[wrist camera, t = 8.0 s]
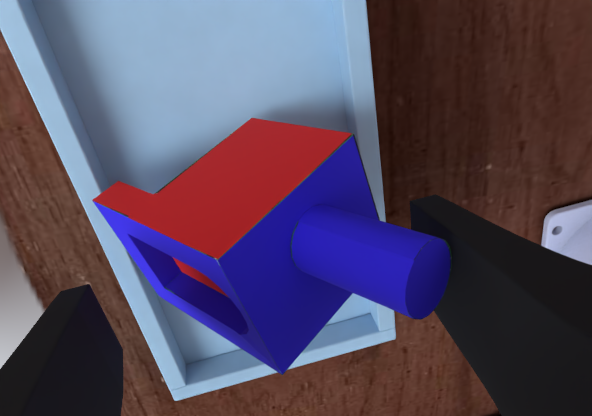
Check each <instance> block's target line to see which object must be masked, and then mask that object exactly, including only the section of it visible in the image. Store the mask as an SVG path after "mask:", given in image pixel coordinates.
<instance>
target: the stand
mask: <svg viewBox="0 0 592 416" xmlns="http://www.w3.org/2000/svg"><path fill="white" fill-rule="evenodd" d="M0 30H1V32H2V34H3V36H4V38H5V40H6V43H7V45H8V47H9V49H10V51H11V53H12V55H13V57H14V60H15V62H16V64H17V66H18V68H19V70H20V72H21V74H22V77H23V79H24V81H25V83H26V85H27V87H28V89H29V92H30V94H31V96H32V98H33V100H34V102H35V104H36V106H37V109H38V111H39V113H40V115H41V117H42V119H43V121H44V124H45V126H46V128H47V130H48V132H49V134H50V136H51V138H52V141H53V143H54V145H55V147H56V149H57V151H58V153H59V156H60V158H61V160H62V162H63V164H64V166H65V168H66V170H67V173H68V175H69V177H70V179H71V181H72V183H73V185H74V188H75V190H76V192H77V194H78V196H79V198H80V200H81V202H82V205H83V207H84V209H85V211H86V213H87V215H88V217H89V220H90V222H91V224H92V226H93V228H94V230H95V232H96V234H97V237H98V239H99V241H100V243H101V245H102V247H103V249H104V252H105V254H106V256H107V258H108V260H109V262H110V264H111V266H112V269H113V271H114V273H115V275H116V277H117V279H118V281H119V284H120V286H121V288H122V290H123V292H124V294H125V296H126V298H127V301H128V303H129V305H130V307H131V309H132V311H133V313H134V316H135V318H136V320H137V322H138V324H139V326H140V328H141V330H142V333H143V335H144V337H145V339H146V341H147V343H148V345H149V348H150V350H151V352H152V354H153V356H154V358H155V360H156V362H157V365H158V367H159V369H160V371H161V373H162V375H163V377H164V379H165V382H166V384H167V386H168V388H169V390H170V392H171V394H172V396H173V398H174V400H175V401H178V400H181V399H185V398H188V397H192V396H195V395H199V394H202V393H206V392H210V391H213V390H217V389H220V388H224V387H227V386H231V385H234V384H238V383H241V382H245V381H248V380H252V379H256V378H259V377H263V376H266V375H270V374H273V373H277V371H275V370H274V369H272V368H271V367H269V366H267V365H266V364H264V363H263V362H261V361H260V360H258V359H256V358H255V357H253V356H252V355H250V354H249V353H247V352H245V351H244V350H242V349H241V348H239V347H238V346H236V345H235V344H233V343H231V342H230V341H228V340H227V339H225V338H224V337H222V336H220V335H219V334H217V333H216V332H214V331H213V330H211V329H209V328H208V327H206V326H205V325H203V324H202V323H200V322H199V321H197V320H195V319H194V318H192V317H191V316H189V315H188V314H186V313H184V312H183V311H181V310H180V309H178V308H177V307H175V306H173V305H172V304H170V303H169V302H167V301H166V300H164V299H163V298H161V297H159V296H158V294H157V293H156V291H155V290H154V289H153V287H152V286H151V284H150V283H149V281H148V280H147V279H146V277H145V276H144V274H143V273H142V271H141V270H140V269H139V267H138V266H137V264H136V263H135V261H134V260H133V259H132V257H131V256H130V254H129V253H128V251H127V250H126V248H125V247H124V246H123V244H122V243H121V241H120V240H119V238H118V237H117V236H116V234H115V233H114V231H113V230H112V228H111V227H110V226H109V224H108V223H107V221H106V220H105V218H104V217H103V215H102V214H101V213H100V211H99V210H98V208H97V207H96V205H95V204H94V203H93V201H92V200H93V199H94V198H96V197H97V196H98V195H100V194H101V193H102V192H104V191H105V190H107V189H108V188H109V187H111V186H112V185H113V184H115V183H116V182H117V181H120V182H123V183H125V184H128V185H130V186H133V187H136V188H138V189H141V190H143V191H146V192H148V193H151V194H155V193H156V192H157V191H158V190H160V189H161V188H162V187H164V186H165V185H166V184H167V183H169V182H170V181H171V180H173V179H174V178H175V177H176V176H178V175H179V174H180V173H182V172H183V171H184V170H185V169H187V168H188V167H189V166H191V165H192V164H193V163H194V162H196V161H197V160H198V159H199V158H201V157H202V156H203V155H205V154H206V153H207V152H208V151H210V150H211V149H212V148H214V147H215V146H216V145H217V144H219V143H220V142H221V141H223V140H224V139H225V138H226V137H228V136H229V135H230V134H232V133H233V132H234V131H235V130H237V129H238V128H239V127H241V126H242V125H243V124H244V123H246V122H247V121H248V120H250V119H251V118H256V119H263V120H269V121H276V122H282V123H289V124H295V125H301V126H308V127H314V128H321V129H327V130H334V131H340V132H347V133H353V134H354V135H355V138H356V142H357V145H358V148H359V152H360V155H361V158H362V162H363V165H364V168H365V172H366V175H367V178H368V182H369V185H370V189H371V192H372V195H373V199H374V202H375V205H376V209H377V212H378V215H379V219H380V221H383V222H386V218H385V206H384V195H383V184H382V173H381V162H380V151H379V139H378V128H377V117H376V106H375V95H374V84H373V73H372V61H371V50H370V39H369V28H368V17H367V6H366V0H0ZM394 339H396V331H395V318H394V310H392V309H389V308H387V307H385V306H382V305H380V304H378V303H375V302H373V301H371V300H368V299H366V298H364V297H361V296H359V295H356V294H354V293H353V294H352V295H351V296H350V297H349V298H348V299H347V301H346V302H345V303H344V304H343V305H342V306H341V308H340V309H339V310H338V311H337V312H336V313H335V315H334V316H333V317H332V318H331V319H330V320H329V322H328V323H327V324H326V325H325V326H324V327H323V329H322V330H321V331H320V332H319V333H318V334H317V335H316V337H315V338H314V339H313V340H312V341H311V342H310V344H309V345H308V346H307V347H306V348H305V349H304V351H303V352H302V353H301V354H300V355H299V356H298V358H297V359H296V360H295V361H294V362H293V363H292V365H291V366H290V367H289V368H288V369H291V368H294V367H298V366H302V365H305V364H309V363H312V362H316V361H319V360H323V359H326V358H330V357H333V356H337V355H341V354H344V353H348V352H351V351H355V350H358V349H362V348H365V347H369V346H372V345H376V344H379V343H383V342H387V341H390V340H394Z"/></svg>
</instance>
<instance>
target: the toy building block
mask: <svg viewBox="0 0 592 416" xmlns="http://www.w3.org/2000/svg"><path fill="white" fill-rule="evenodd" d="M92 201H93V203H94V204H95V205H96V207H97V208H98V210H99V211H100V213H101V214H102V215H103V217H104V218H105V220H106V221H107V223H108V224H109V226H110V227H111V228H112V230H113V231H114V233H115V234H116V236H117V237H118V238H119V240H120V241H121V243H122V244H123V246H124V247H125V248H126V250H127V251H128V253H129V254H130V256H131V257H132V259H133V260H134V261H135V263H136V264H137V266H138V267H139V269H140V270H141V271H142V273H143V274H144V276H145V277H146V279H147V280H148V281H149V283H150V284H151V286H152V287H153V289H154V290H155V291H156V293H157V294H158V296H159V297H161V298H163V299H164V300H166V301H167V302H169V303H170V304H172V305H173V306H175V307H177V308H178V309H180V310H181V311H183V312H184V313H186V314H188V315H189V316H191V317H192V318H194V319H195V320H197V321H199V322H200V323H202V324H203V325H205V326H206V327H208V328H209V329H211V330H213V331H214V332H216V333H217V334H219V335H220V336H222V337H224V338H225V339H227V340H228V341H230V342H231V343H233V344H235V345H236V346H238V347H239V348H241V349H242V350H244V351H245V352H247V353H249V354H250V355H252V356H253V357H255V358H256V359H258V360H260V361H261V362H263V363H264V364H266V365H267V366H269V367H271V368H272V369H274V370H275V371H277V372H278V373H280V374H281V375H283V374H284V373H285V371H286V370H287V369H288V368H289V367H290V366H291V365H292V363H293V362H294V361H295V360H296V359H297V358H298V356H299V355H300V354H301V353H302V352H303V351H304V349H305V348H306V347H307V346H308V345H309V344H310V342H311V341H312V340H313V339H314V338H315V337H316V335H317V334H318V333H319V332H320V331H321V330H322V329H323V327H324V326H325V325H326V324H327V323H328V322H329V320H330V319H331V318H332V317H333V316H334V315H335V313H336V312H337V311H338V310H339V309H340V308H341V306H342V305H343V304H344V303H345V302H346V301H347V299H348V298H349V297H350V296H351V295H352V294H353V293H354V294H356V295H359V296H361V297H364V298H366V299H368V300H371V301H373V302H375V303H378V304H380V305H382V306H385V307H387V308H389V309H392V310H394V311H397V312H399V313H401V314H404V315H406V316H408V317H411V318H413V319H423V318H425V317H426V316H428V315H430V313H431V312H432V311H433V310H434V309H435V308H436V307H437V305H438V304H439V302H440V300H441V299H442V297H443V295H444V293H445V290H446V288H447V285H448V282H449V278H450V273H451V267H452V255H451V250H450V246H449V245H448V243H447V242H446V240H444V239H441V238H438V237H434V236H431V235H428V234H424V233H421V232H417V231H414V230H410V229H407V228H403V227H400V226H396V225H393V224H389V223H386V222H383V221H380V219H379V215H378V212H377V209H376V205H375V202H374V199H373V195H372V192H371V189H370V185H369V182H368V178H367V175H366V172H365V168H364V165H363V162H362V158H361V155H360V152H359V148H358V145H357V142H356V138H355V135H354V134H353V133H347V132H340V131H334V130H327V129H321V128H314V127H308V126H301V125H295V124H289V123H282V122H276V121H269V120H263V119H256V118H251V119H250V120H248V121H247V122H246V123H244V124H243V125H242V126H241V127H239V128H238V129H237V130H235V131H234V132H233V133H232V134H230V135H229V136H228V137H226V138H225V139H224V140H223V141H221V142H220V143H219V144H217V145H216V146H215V147H214V148H212V149H211V150H210V151H208V152H207V153H206V154H205V155H203V156H202V157H201V158H199V159H198V160H197V161H196V162H194V163H193V164H192V165H191V166H189V167H188V168H187V169H185V170H184V171H183V172H182V173H180V174H179V175H178V176H176V177H175V178H174V179H173V180H171V181H170V182H169V183H167V184H166V185H165V186H164V187H162V188H161V189H160V190H158V191H157V192H156V193H155V194H151V193H148V192H146V191H143V190H141V189H138V188H136V187H133V186H130V185H128V184H125V183H123V182H120V181H117V182H116V183H115V184H113V185H112V186H111V187H109V188H108V189H107V190H105V191H104V192H102V193H101V194H100V195H98V196H97V197H96V198H94V199H93V200H92Z"/></svg>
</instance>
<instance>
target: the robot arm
mask: <svg viewBox="0 0 592 416" xmlns="http://www.w3.org/2000/svg"><path fill="white" fill-rule="evenodd" d="M410 212H411V229H412V230H414V231H417V232H421V233H424V234H428V235H431V236H434V237H438V238H441V239H444V240H446V242H447V243H448V245H449V246H450V250H451V255H452V267H451V273H450V278H449V282H448V285H447V288H446V290H445V293H444V295H443V297H442V299H441V300H440V302H439V304H438V305H437V307H436V308H435V309H434V311H435V313H436V314H437V316H438V318H439V319H440V321H441V322H442V324H443V325H444V327H445V328H446V330H447V331H448V333H449V334H450V336H451V337H452V339H453V340H454V342H455V343H456V345H457V346H458V347H459V349H460V350H461V352H462V353H463V355H464V356H465V358H466V359H467V361H468V362H469V364H470V365H471V367H472V368H473V370H474V371H475V373H476V374H477V376H478V377H479V379H480V380H481V382H482V383H483V385H484V386H485V388H486V389H487V391H488V393H489V394H490V396H491V398H492V399H493V401H494V403H495V404H496V406H497V408H498V410H499V412H500V414H501V415H502V416H592V200H589V201H585V202H581V203H578V204H574V205H570V206H566V207H563V208H559V209H555V210H553V211H551V212H549V213H548V214H547V215H546V217H545V220H544V227H543V235H542V244H541V245H538V244H536V243H534V242H531V241H529V240H527V239H525V238H522V237H520V236H518V235H516V234H514V233H512V232H510V231H507V230H505V229H503V228H501V227H499V226H497V225H495V224H493V223H491V222H489V221H487V220H485V219H483V218H481V217H479V216H477V215H475V214H473V213H472V212H470V211H468V210H466V209H464V208H462V207H460V206H458V205H456V204H454V203H452V202H450V201H448V200H446V199H444V198H442V197H440V196H438V195H432V196H428V197H424V198H420V199H416V200H412V201H410ZM555 227H556V228H555ZM554 228H555V229H554ZM553 229H554V230H553ZM122 398H123V349H122V347H121V345H120V343H119V341H118V339H117V337H116V335H115V333H114V331H113V330H112V328H111V326H110V324H109V322H108V320H107V318H106V316H105V314H104V312H103V310H102V308H101V306H100V304H99V302H98V300H97V298H96V296H95V294H94V292H93V290H92V288H91V286H90V284H87V285H83V286H80V287H76V288H72V289H68V290H64V291H61V292H60V293H59V294H58V295H57V297H56V298H55V299H54V300H53V301H52V303H51V304H50V305H49V307H48V308H47V309H46V310H45V312H44V313H43V314H42V316H41V317H40V318H39V320H38V321H37V323H36V324H35V325H34V326H33V328H32V329H31V330H30V332H29V333H28V334H27V336H26V337H25V338H24V339H23V341H22V342H21V343H20V345H19V346H18V347H17V349H16V350H15V351H14V352H13V354H12V355H11V356H10V357H9V359H8V360H7V361H6V363H5V364H4V365H3V366H2V368H1V369H0V416H121V407H122Z"/></svg>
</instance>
